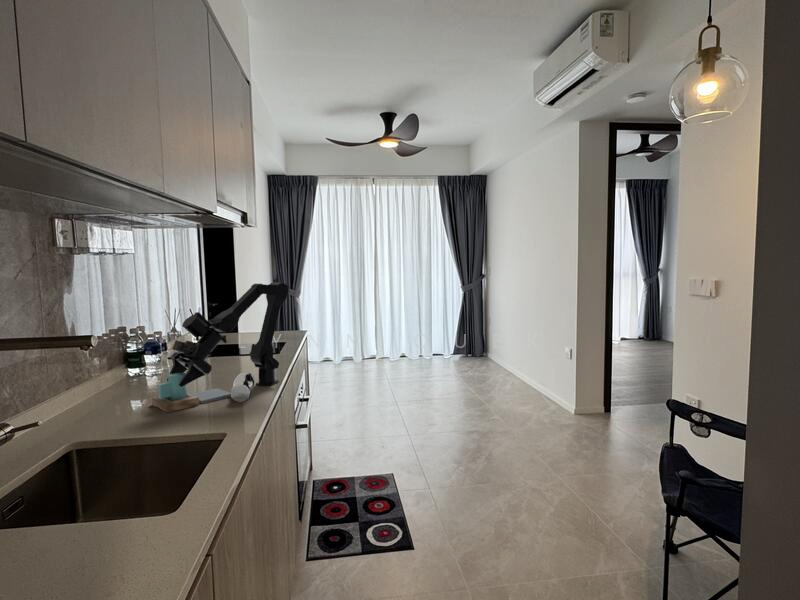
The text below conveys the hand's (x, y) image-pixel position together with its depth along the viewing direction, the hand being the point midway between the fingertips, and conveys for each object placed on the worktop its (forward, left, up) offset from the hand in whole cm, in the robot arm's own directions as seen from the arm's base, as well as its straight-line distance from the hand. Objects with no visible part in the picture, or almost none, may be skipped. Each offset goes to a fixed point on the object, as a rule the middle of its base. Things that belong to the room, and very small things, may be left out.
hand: (173, 383), depth 152 cm
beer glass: (-7, +19, -4) cm, 21 cm away
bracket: (-1, +1, -7) cm, 7 cm away
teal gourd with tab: (0, 0, -7) cm, 7 cm away
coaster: (-10, +5, -7) cm, 14 cm away
